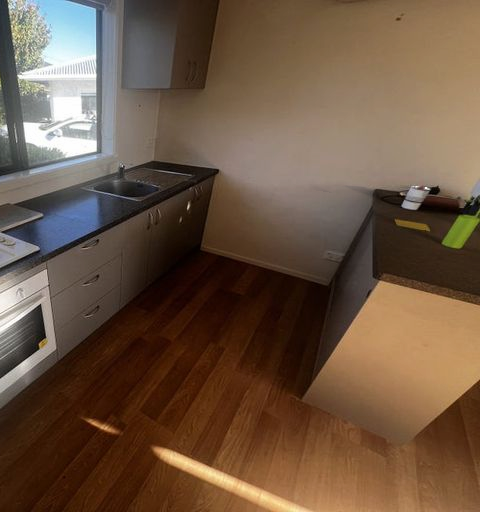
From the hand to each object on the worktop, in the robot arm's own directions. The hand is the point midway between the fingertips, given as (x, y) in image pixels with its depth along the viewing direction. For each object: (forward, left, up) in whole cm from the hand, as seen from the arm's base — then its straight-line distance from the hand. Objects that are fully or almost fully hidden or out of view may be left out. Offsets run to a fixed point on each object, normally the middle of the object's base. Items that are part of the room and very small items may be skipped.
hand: (468, 213), depth 120 cm
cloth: (+11, -20, -15) cm, 27 cm away
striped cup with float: (+11, -55, -15) cm, 58 cm away
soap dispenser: (0, +1, -15) cm, 15 cm away
